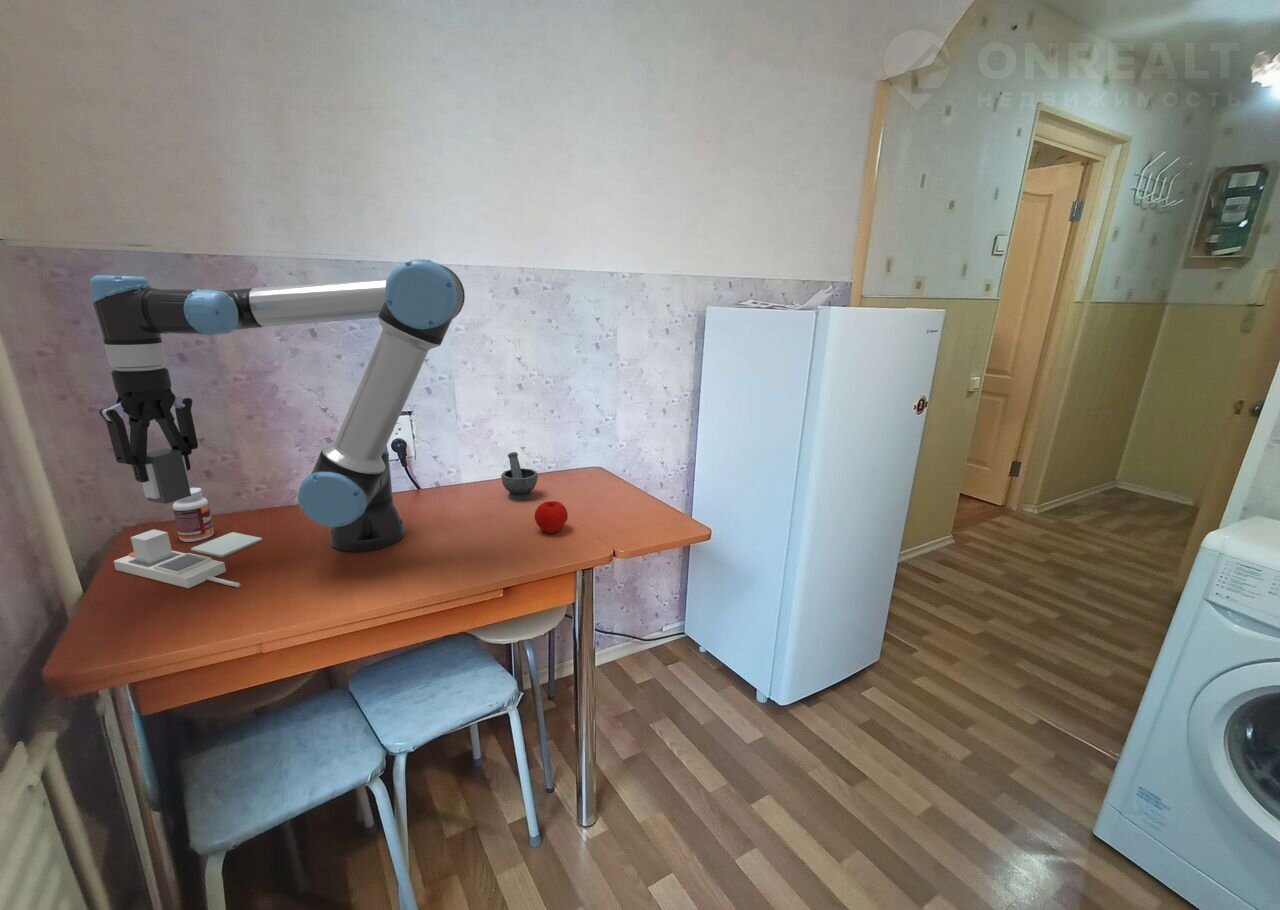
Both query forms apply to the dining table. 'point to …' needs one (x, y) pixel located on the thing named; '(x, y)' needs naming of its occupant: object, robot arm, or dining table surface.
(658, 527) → the dining table surface
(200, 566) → the strip
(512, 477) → the mortar and pestle
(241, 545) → the coaster
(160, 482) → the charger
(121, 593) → the dining table surface
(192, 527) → the pill bottle
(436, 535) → the dining table surface
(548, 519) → the apple
